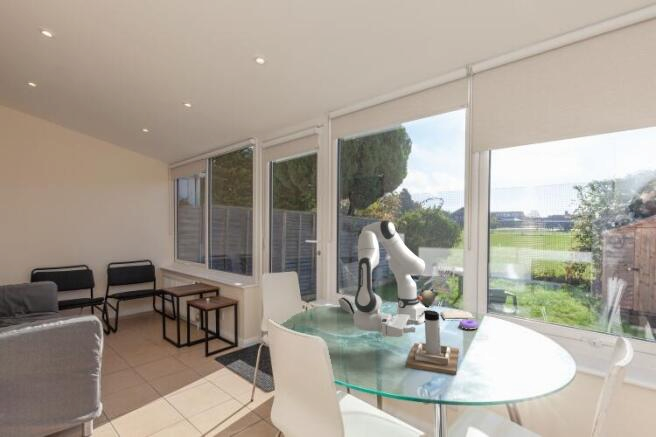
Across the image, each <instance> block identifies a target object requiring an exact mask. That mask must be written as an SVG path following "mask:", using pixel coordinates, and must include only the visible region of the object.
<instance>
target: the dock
mask: <svg viewBox="0 0 656 437" xmlns="http://www.w3.org/2000/svg"><path fill="white" fill-rule="evenodd" d="M440 345H441V357H440V356H433V355H426V342H421V341H420V342H419V343H418V342H415V343H414V344H413V347H412V349H411V350H410V353H409V355H408V358H407V360H406V362H405V367H406V368H413V369H418V370H424V371H430V372H437V373H442V374H443V373H444V374H450V375H457V371H458V364H457V363H459V362H458V361H459V356H458V354H459V355H460V348H457V347H451V345H444V344H440Z"/></svg>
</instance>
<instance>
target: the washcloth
mask: <svg viewBox="0 0 656 437" xmlns="http://www.w3.org/2000/svg"><path fill="white" fill-rule="evenodd" d="M439 315H441V317H442V318H443V320H444V319H468V318H474V319H476V316H474V315H473V314H472V312H470V311H469V310H468V311H465V310H442V311H440V313H439ZM472 315H473V316H474V317H473V316H472Z"/></svg>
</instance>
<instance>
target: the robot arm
mask: <svg viewBox="0 0 656 437" xmlns="http://www.w3.org/2000/svg"><path fill="white" fill-rule="evenodd" d="M356 234H357V239H358V242H357V259H358V269H357V270H358V271H357V272H358V273H357V274H358V275H357V276H358V277H357V279H358V282H357V290H356V294H355V295H354V296H355V297H354V304H355V307H356V310H357V311H356V312H355V313H354V312H353V314H352V315H353V316H352V320H353V324H354V326H355V328H356V329H358V330H360V331H365V332H378V333H381V337H385V338H386V337H393V338H401V337H403V336H404V334H409V333H415V332H416V327H413V326H411V327H409V325H412V324H413V325H414V326H418V325H421V323H422V322H424V321H425V313H424V311H426V310H428V307H425V306H424V304H423V303H422V302H421V301H420V300H422V297H420V296H417V295H418V292H417V282H416V281H415V280H413V278H412V276H413V277H414V276H421V275H423V274H424V272H425V271H426V262H425V261H424V259H422V258H420V257H419V256H417V255H416V254H414V252H412V250H410V248H408V247H407V245H405V243H404V241H403V240H402V238H401V236H400V235H399V233H398V232H397V229H396V227H395V224H394V223H393V222H392V221H391V220H388V219H384V220H381V221H376V222H375V221H374V222H373V223H370V224H368V225H364V226H362V227H361V228H359V229H358V231H357V233H356ZM379 243H381V245H382V247H383V248H384V250H385V251H386V253H387V254H388V256H390V257H389V258H388V262H387V265H388V268H389V269H390V270H391V272H392V273H393V275H394V278H395V281H396V284H397V310H396V311H397V312H396V314H394V315H392V314H391V313H385V312H382V307H383V300H382V298H381V296H379V295H378V294H377V293H375V292H374V291H373V286H372V283H373V281H372V280H373V278H372V274H373V270H374V268H376V267H378V265H379V263H380V247H379ZM424 323H425V322H424ZM422 324H423V323H422Z"/></svg>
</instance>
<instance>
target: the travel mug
mask: <svg viewBox="0 0 656 437" xmlns="http://www.w3.org/2000/svg"><path fill="white" fill-rule="evenodd" d="M424 313H425V322H424V331H425V333H424V334H425V336H424V337H425V343H426V355H433V356H440V357H441V345H442V344H441V325H440V323H441V322H440V313H439V312H438V311H436V310H429V309H427V310H426V311H424Z"/></svg>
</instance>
